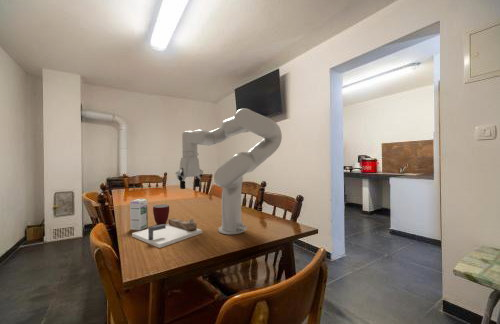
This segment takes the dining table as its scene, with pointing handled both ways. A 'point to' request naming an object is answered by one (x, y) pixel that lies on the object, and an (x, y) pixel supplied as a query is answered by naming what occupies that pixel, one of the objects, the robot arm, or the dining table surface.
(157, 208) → the mug
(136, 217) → the syrup box
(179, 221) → the walnut link
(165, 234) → the pintle board
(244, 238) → the dining table surface
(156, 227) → the block
